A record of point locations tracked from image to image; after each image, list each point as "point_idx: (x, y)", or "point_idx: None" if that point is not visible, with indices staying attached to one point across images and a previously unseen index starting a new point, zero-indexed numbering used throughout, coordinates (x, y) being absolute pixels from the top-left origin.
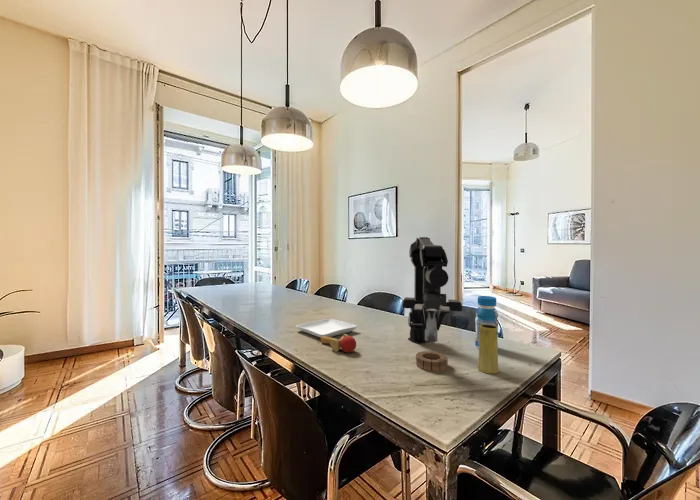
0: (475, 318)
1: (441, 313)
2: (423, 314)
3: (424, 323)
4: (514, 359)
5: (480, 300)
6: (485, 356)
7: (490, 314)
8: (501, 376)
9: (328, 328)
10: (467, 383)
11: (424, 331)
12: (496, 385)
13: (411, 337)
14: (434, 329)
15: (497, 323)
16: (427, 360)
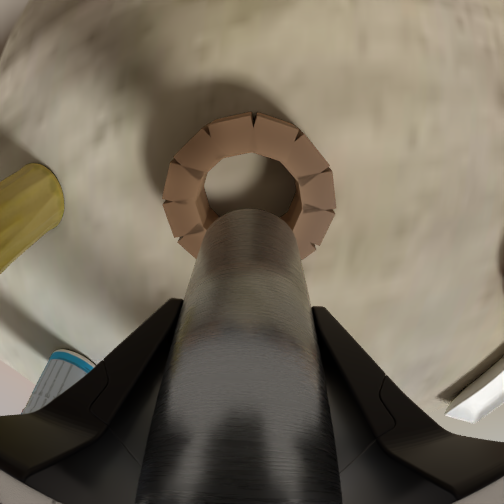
0: None
1: (37, 445)
2: (386, 446)
3: (335, 346)
4: (7, 297)
5: None
6: (3, 193)
7: None
8: (9, 155)
9: (492, 389)
10: (107, 35)
11: None
12: (25, 70)
13: None
14: (212, 277)
15: (21, 413)
16: (277, 135)
